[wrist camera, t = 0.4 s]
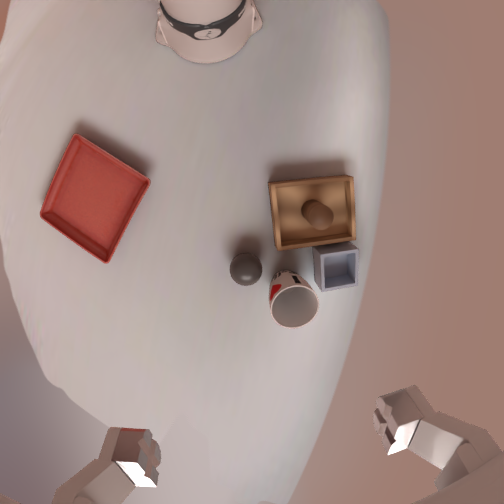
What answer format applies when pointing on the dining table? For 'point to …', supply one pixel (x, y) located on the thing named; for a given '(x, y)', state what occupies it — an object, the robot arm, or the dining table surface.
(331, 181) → the oak tray
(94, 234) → the plant saucer
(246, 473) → the dining table surface
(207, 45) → the robot arm
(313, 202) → the walnut peg
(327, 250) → the pen pot
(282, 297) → the cup
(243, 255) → the dark gray ball
